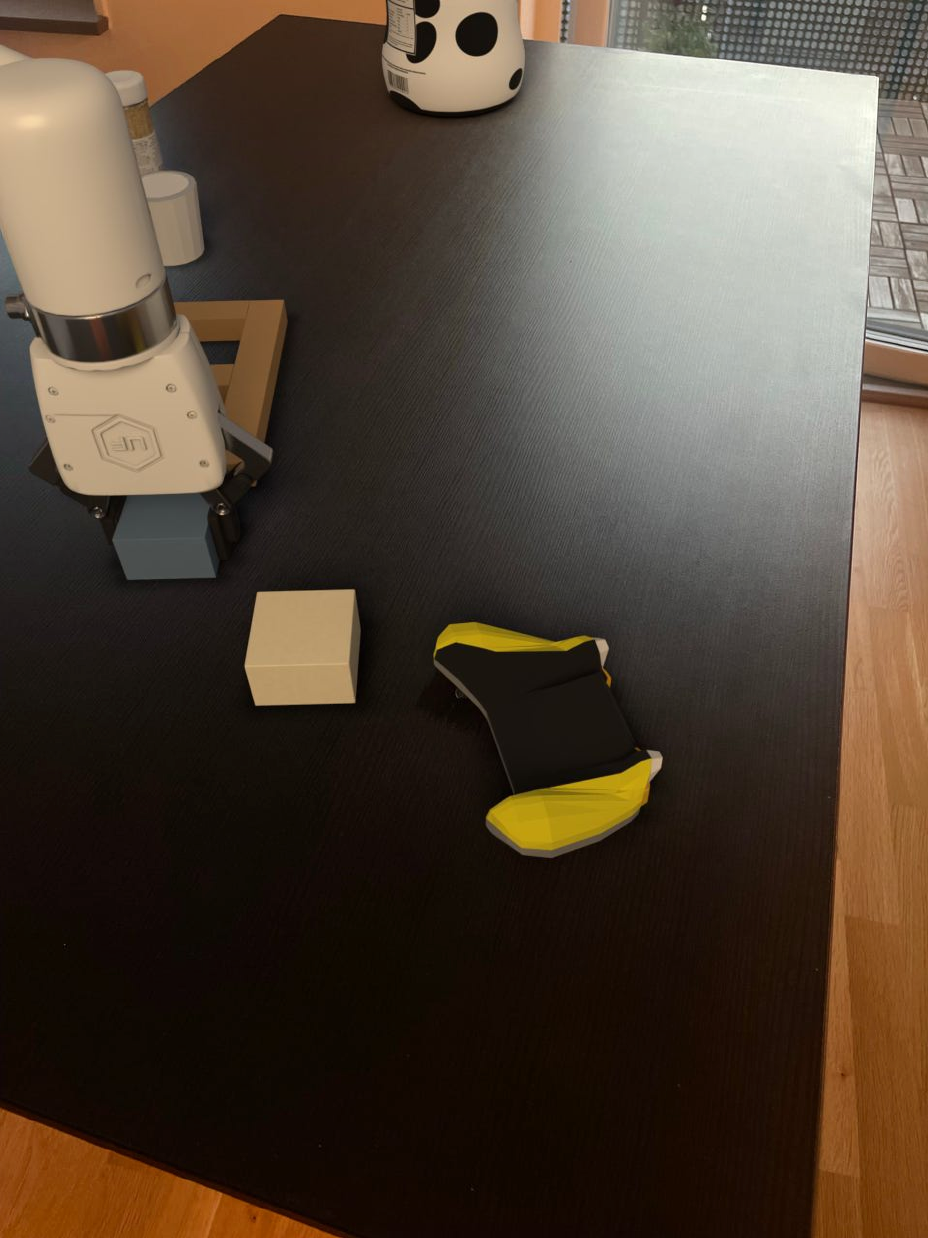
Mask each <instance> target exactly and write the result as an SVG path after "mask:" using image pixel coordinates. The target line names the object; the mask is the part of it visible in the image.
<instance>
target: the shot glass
mask: <svg viewBox="0 0 928 1238" xmlns="http://www.w3.org/2000/svg"><path fill="white" fill-rule="evenodd" d="M141 178H142V182H143V186H144V190H145V194H146V198H147V202H148V206H149V209H150V213H151V217H152V221H153V225H154V229H155V233H156V237H157V241H158V244H159V248H160V252H161V256H162V260H163V264H164V267H174V266H175V267H176V266H180V265H186V264H188V263H191V262H193V261H196V260H198V259H199V258H200V257H201V256H202V255H203V254H204V251H205V242H204V235H203V225H202V218H201V209H200V201H199V194H198V185H197V184H198V183H197V181H196V179H195V177H194V176H192V175H191V174H188V173H187V172H184V171H177V170H165V171H157V172H151V173H146V174H143V175H141Z"/></svg>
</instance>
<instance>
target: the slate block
mask: <svg viewBox="0 0 928 1238" xmlns="http://www.w3.org/2000/svg"><path fill="white" fill-rule="evenodd" d="M209 507H210V506H209V505H208V504H207V502H206V501H205V500H204V499H203V497H202V496H201V495H200V494H199V493H187V494H155V495H127V498H126V501H125V504H124V507H123V510H122V513H121V516H120V519H119V522H118V525H117V527H116V530H115V533H114V536H113V539H112V541H113V544H114V545H113V547H114V546H115V547H114V549H115V552H116V551H117V552H116V555H117V554H118V555H117V558H118V560H119V559H120V560H119V562H120V564H121V567H122V570H123V573H124V575H125V578H126V580H127V581H133V580H134V581H136V580H137V581H138V580H139V581H140V580H173V579H174V580H175V579H176V580H177V579H211V578H212V579H214V578H217V575H218V570H219V565H220V561H221V559H220V558H218V555H217V551H216V548H215V544H214V541H213V537H212V533H211V530H210V526H209V523H208V521H207V515H208V511H209Z"/></svg>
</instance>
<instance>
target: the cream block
mask: <svg viewBox="0 0 928 1238" xmlns="http://www.w3.org/2000/svg"><path fill="white" fill-rule="evenodd" d="M360 643H361V622H360V616H359V609H358V602H357V595H356V590H355V589H351V588H349V589H321V590H320V589H316V590H280V591H279V590H278V591H257V592H256V597H255V603H254V608H253V614H252V621H251V626H250V632H249V637H248V644H247V649H246V655H245V661H244V670H245V673H246V676H247V680H248V684H249V688H250V691H251V695H252V698H253V702H254V706H256V707H257V706H290V705H291V706H293V705H294V706H295V705H296V706H297V705H330V704H331V705H333V704H356V700H357V686H358V671H359V658H360V657H359V656H360V645H361V644H360Z"/></svg>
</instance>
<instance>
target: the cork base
mask: <svg viewBox="0 0 928 1238" xmlns="http://www.w3.org/2000/svg"><path fill="white" fill-rule="evenodd" d="M173 303H174V306H175V310H176V314H182V315H184V316H186V318H187V319H188V321H189V322H190V324H191V326H192V328H193V330H194V332H195V334H196V336H197V338H198V340H199V342H232V341H233V342H234V341H239V345H238V349H237V352H236V358H235V361H234V363H226V364H225V363H224V364H223V363H222V364H221V363H220V364H210V367H211V369H212V372H213V375H214V377H215V380H216V383H217V386H218V389H219V392H220V395H221V398H222V401H223V404H224V407H225V411H226V414H227V418H228V419H230V420H231V421H233V422H234V423H236V424H237V425H239V426H240V427H241V428H243V429H244V430H246V431H247V432H249V433H250V434H252V435H253V436H255V437H256V438H258V439H259V440H260V441H262V442H263V443H265V441H266V436H267V431H268V425H269V421H270V416H271V409H272V405H273V400H274V395H275V389H276V384H277V378H278V374H279V369H280V362H281V359H282V353H283V348H284V343H285V338H286V332H287V327H288V316H287V308H286V303H285V300H284V299H260V300H253V299H252V300H250V299H249V300H247V299H246V300H211V301H207V300H206V301H176V302H175V301H173ZM242 461H243V460H242V459H240V458H239V457H237V456H236V455H234V454H233V453H231V452H230V451H228V450H226V468H227V469H228V470H229V471H231V470H232V469H233V468H234V467H235V465H236V464H238V463H239V462H242ZM257 483H258V480H257V481H255V482H254V483H253V484H252V485H251V487H256V486H257Z"/></svg>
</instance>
